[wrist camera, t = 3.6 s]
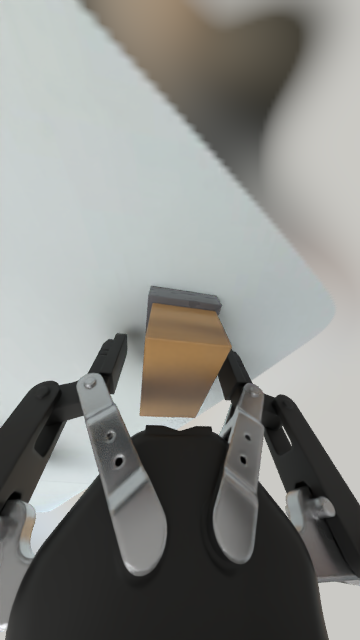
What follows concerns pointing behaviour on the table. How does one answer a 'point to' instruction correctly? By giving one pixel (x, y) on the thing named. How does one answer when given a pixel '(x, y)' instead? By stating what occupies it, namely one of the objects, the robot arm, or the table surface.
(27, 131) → the table surface
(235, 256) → the table surface
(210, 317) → the eraser
